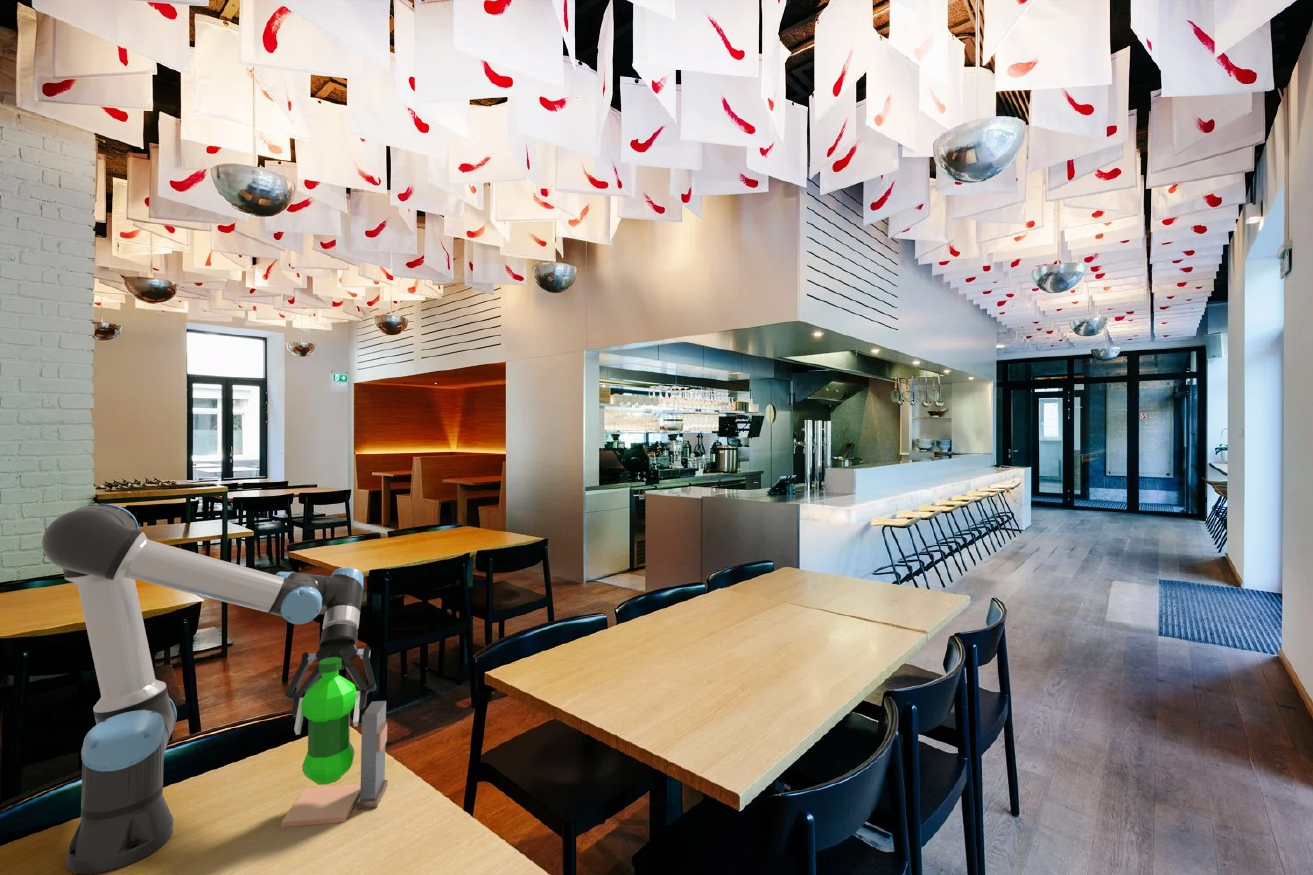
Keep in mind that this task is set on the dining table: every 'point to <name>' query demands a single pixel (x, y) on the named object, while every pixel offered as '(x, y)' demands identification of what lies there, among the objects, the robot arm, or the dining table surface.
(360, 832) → the dining table surface
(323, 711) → the plastic bottle
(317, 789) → the terracotta pad
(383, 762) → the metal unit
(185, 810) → the dining table surface
